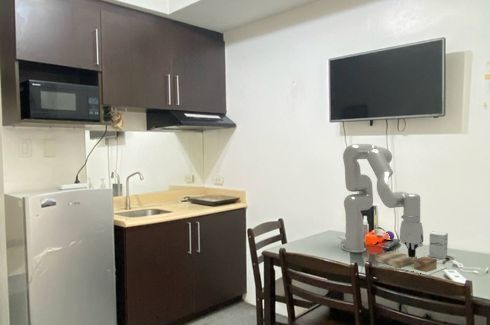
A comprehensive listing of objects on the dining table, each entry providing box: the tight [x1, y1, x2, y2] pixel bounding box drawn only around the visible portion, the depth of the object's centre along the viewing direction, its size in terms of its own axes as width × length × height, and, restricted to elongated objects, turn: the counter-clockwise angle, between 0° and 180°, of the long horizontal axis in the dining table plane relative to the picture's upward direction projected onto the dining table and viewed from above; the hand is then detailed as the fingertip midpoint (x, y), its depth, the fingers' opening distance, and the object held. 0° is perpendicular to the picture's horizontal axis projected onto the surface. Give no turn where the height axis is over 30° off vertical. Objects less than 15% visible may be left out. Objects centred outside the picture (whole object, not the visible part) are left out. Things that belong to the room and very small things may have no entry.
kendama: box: [385, 230, 395, 240], centre depth 238 cm, size 6×6×20 cm
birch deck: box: [375, 250, 418, 269], centre depth 194 cm, size 14×14×3 cm
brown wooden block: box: [414, 256, 438, 272], centre depth 182 cm, size 6×9×4 cm, turn 125°
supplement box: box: [428, 231, 449, 260], centre depth 203 cm, size 7×7×13 cm
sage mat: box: [399, 264, 447, 276], centre depth 183 cm, size 13×18×1 cm
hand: (411, 256), depth 188 cm, fingers closed
